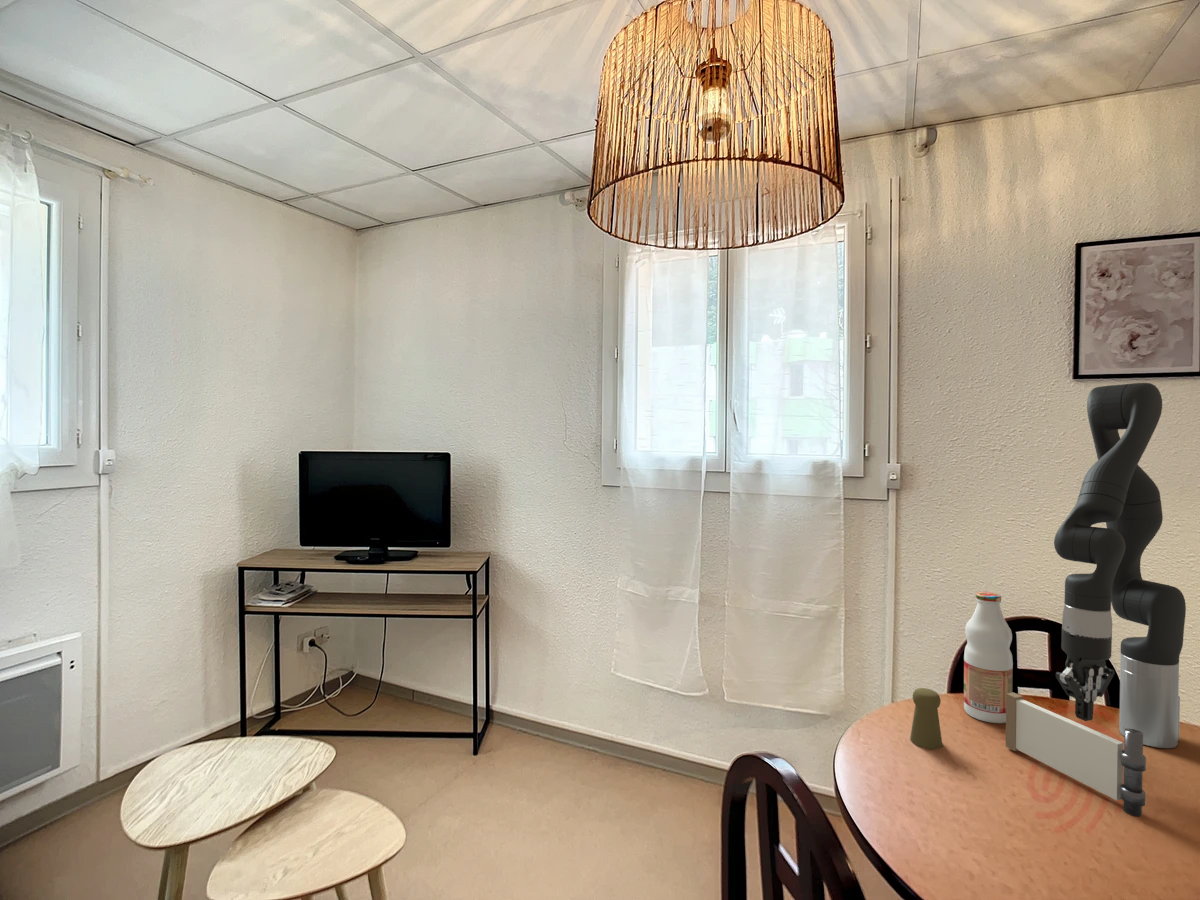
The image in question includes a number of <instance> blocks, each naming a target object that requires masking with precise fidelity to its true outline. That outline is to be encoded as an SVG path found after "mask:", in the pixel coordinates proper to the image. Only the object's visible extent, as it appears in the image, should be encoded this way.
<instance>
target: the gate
mask: <svg viewBox="0 0 1200 900" xmlns="http://www.w3.org/2000/svg"><path fill="white" fill-rule="evenodd" d="M1005 748H1008V749H1010V750H1012V751H1014V752H1017V751H1020V752H1022V753H1023V754H1026V756H1027V755H1028V757H1029V756H1030V757H1031V758H1034V759H1035V760H1037V761H1039V762H1042V763H1043V764H1045V765H1047V766H1048V767H1050V768H1052V769H1055V770H1056V771H1059V772H1060V773H1063V774H1064V775H1066V776H1068V777H1071V778H1072V779H1073V780H1076V781H1078V782H1080V783H1081V784H1084V785H1085V786H1088V787H1090V788H1092V789H1093V790H1095V791H1098V792H1099V793H1101V794H1103V795H1105V796H1106V797H1109V798H1111V799H1113V800H1115V801H1120V800H1121V801H1122V799H1121V785H1122V784H1124V766H1123V765H1122V764H1121V751H1123V750H1124V742H1122V741H1121V740H1118V739H1116V738H1114V737H1111V736H1109V735H1106V734H1104V733H1103V732H1101V731H1098V730H1096V729H1092V728H1090V727H1088V726H1086V725H1083V724H1081V723H1078V722H1076V721H1074V720H1072V719H1069V718H1067V717H1064V716H1062V715H1061V714H1058V713H1055V712H1053V711H1050V710H1048V709H1046V708H1044V707H1041V706H1039V705H1038V704H1037V705H1036V704H1034V703H1032V702H1030V701H1028V700H1026V699H1024V698H1023V695H1021V694H1018V693H1015V692H1013V691H1012V693H1007V694H1006V723H1005Z"/></svg>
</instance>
